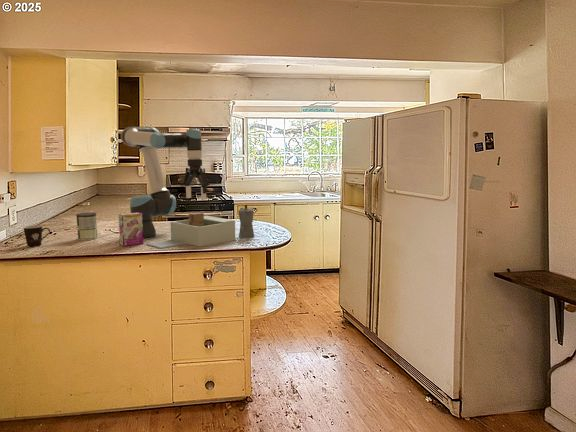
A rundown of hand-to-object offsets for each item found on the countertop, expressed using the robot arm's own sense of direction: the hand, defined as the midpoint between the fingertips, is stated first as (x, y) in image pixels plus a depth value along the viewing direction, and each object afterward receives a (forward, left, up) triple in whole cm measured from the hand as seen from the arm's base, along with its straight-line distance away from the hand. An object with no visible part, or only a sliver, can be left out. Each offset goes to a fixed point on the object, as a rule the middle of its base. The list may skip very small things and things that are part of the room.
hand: (196, 198), depth 258 cm
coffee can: (-50, -38, -23) cm, 67 cm away
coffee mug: (-51, -64, -23) cm, 85 cm away
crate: (0, +4, -23) cm, 23 cm away
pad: (-4, -17, -23) cm, 29 cm away
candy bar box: (-17, -29, -23) cm, 41 cm away
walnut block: (0, 0, -18) cm, 18 cm away
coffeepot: (+9, +27, -23) cm, 36 cm away
